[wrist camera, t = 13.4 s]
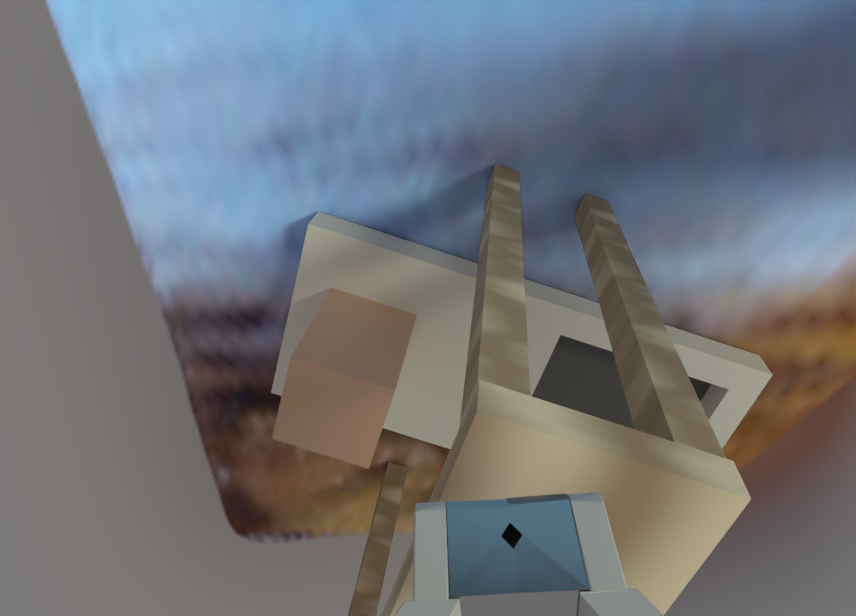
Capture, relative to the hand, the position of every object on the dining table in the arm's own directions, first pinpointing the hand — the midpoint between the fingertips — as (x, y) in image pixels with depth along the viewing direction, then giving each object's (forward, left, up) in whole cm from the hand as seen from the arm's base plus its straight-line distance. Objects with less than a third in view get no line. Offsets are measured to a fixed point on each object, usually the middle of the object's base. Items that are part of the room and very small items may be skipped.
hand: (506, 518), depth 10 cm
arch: (-4, +16, -32) cm, 36 cm away
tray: (-6, +16, -32) cm, 36 cm away
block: (+5, +16, -30) cm, 34 cm away
